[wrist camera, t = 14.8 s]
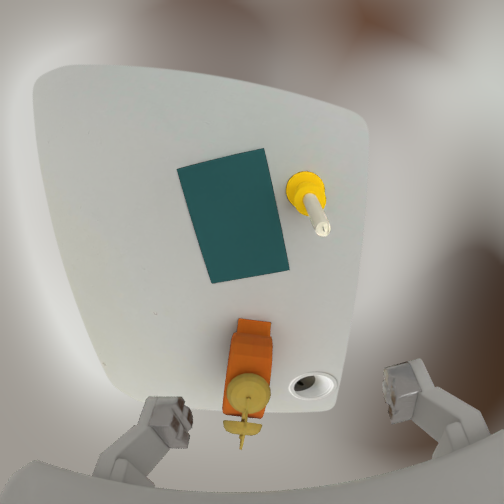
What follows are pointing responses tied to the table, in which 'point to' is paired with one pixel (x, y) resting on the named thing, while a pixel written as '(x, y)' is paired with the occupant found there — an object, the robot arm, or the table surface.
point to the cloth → (235, 216)
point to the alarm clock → (248, 376)
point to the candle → (309, 199)
